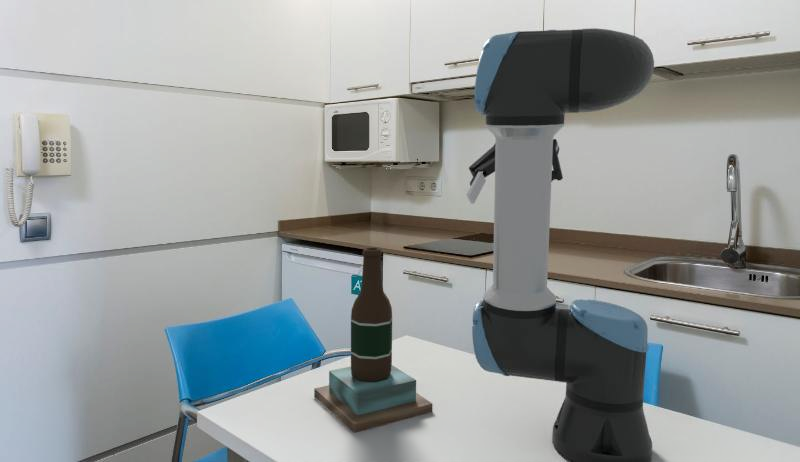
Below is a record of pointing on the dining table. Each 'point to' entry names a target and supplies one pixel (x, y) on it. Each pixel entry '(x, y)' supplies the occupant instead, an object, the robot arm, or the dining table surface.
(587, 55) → the robot arm
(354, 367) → the beer bottle
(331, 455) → the dining table surface
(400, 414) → the display base
